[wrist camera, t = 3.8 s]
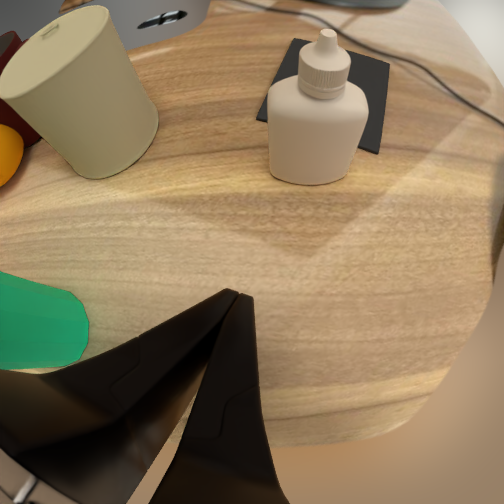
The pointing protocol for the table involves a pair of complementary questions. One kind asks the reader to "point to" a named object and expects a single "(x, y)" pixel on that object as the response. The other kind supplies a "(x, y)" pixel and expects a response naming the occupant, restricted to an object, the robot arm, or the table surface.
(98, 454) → the robot arm
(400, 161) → the table surface
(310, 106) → the eye dropper bottle
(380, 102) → the felt mat
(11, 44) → the mug
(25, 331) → the candle
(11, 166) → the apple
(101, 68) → the can
